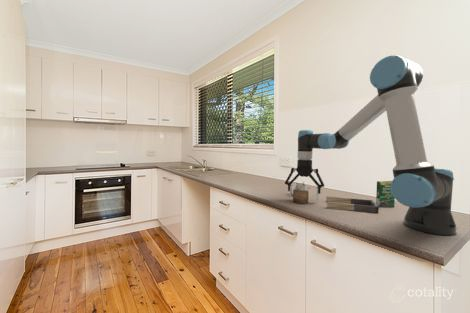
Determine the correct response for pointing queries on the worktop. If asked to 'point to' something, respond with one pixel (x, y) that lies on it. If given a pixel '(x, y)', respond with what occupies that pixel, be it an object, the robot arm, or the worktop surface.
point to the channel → (352, 204)
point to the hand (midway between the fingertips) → (303, 198)
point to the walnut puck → (300, 196)
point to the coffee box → (384, 194)
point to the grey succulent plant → (301, 187)
